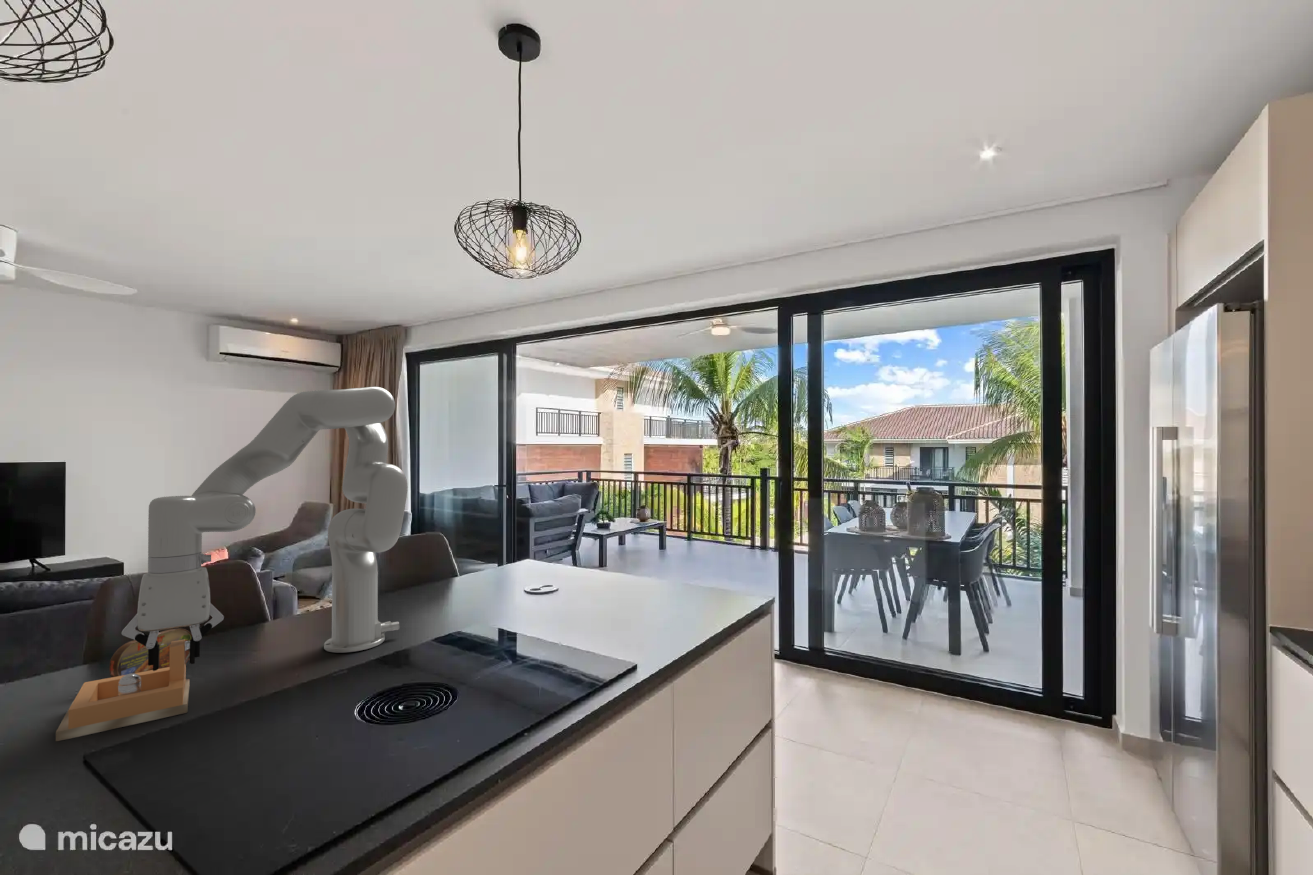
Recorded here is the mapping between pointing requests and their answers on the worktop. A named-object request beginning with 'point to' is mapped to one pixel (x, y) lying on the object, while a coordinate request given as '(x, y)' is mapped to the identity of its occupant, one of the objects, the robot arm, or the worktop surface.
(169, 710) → the board
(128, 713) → the orange walled frame piece
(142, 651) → the tin
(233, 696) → the worktop surface
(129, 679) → the post
